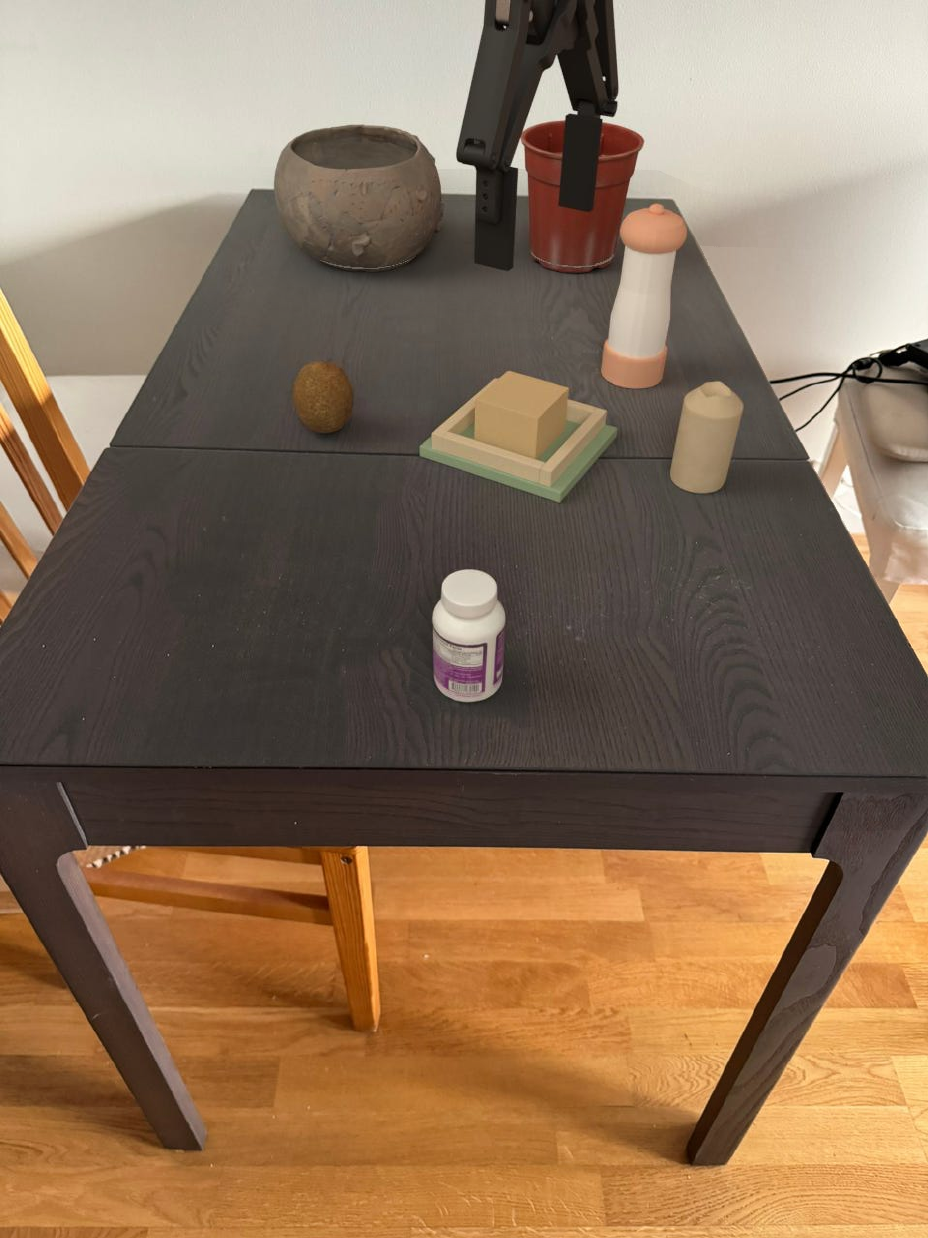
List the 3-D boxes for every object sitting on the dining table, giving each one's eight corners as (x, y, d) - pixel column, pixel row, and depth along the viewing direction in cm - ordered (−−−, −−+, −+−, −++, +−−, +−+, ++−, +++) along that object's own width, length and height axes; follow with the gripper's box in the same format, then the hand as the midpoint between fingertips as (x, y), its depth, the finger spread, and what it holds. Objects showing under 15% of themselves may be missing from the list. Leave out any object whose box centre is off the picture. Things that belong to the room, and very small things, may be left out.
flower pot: (555, 289, 126) (566, 163, 115) (492, 248, 137) (497, 129, 126) (651, 266, 133) (669, 145, 122) (584, 229, 143) (595, 114, 132)
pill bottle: (468, 645, 75) (470, 552, 68) (516, 680, 72) (523, 586, 66) (418, 679, 72) (416, 585, 66) (466, 716, 69) (469, 622, 63)
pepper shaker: (675, 379, 108) (707, 209, 95) (626, 394, 105) (652, 222, 92) (636, 353, 113) (661, 188, 100) (588, 367, 110) (607, 199, 97)
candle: (729, 494, 91) (752, 404, 84) (673, 493, 91) (692, 402, 84) (719, 463, 95) (740, 374, 88) (665, 462, 95) (682, 373, 88)
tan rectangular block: (564, 430, 97) (569, 387, 94) (534, 462, 93) (538, 418, 89) (505, 412, 100) (508, 370, 96) (473, 442, 95) (475, 399, 92)
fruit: (342, 451, 96) (336, 381, 90) (287, 441, 97) (278, 371, 92) (364, 421, 100) (360, 352, 95) (311, 412, 102) (304, 343, 96)
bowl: (257, 276, 128) (241, 160, 118) (312, 218, 144) (302, 112, 134) (418, 294, 125) (416, 175, 114) (457, 232, 141) (458, 124, 131)
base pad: (616, 437, 99) (620, 412, 97) (559, 503, 90) (562, 477, 88) (485, 397, 104) (485, 373, 102) (419, 456, 95) (418, 430, 93)
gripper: (590, -146, 64) (563, 179, 78) (392, -121, 48) (404, 281, 62) (694, -140, 61) (646, 195, 76) (521, -111, 45) (502, 307, 60)
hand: (537, 235), depth 69 cm, fingers open, 13 cm apart
